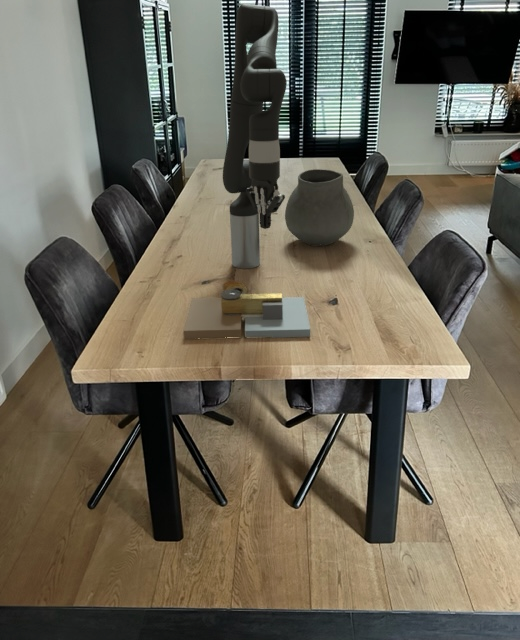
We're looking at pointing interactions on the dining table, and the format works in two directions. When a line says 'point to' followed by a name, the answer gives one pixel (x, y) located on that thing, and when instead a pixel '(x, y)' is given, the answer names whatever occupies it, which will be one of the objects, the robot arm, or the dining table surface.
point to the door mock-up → (247, 320)
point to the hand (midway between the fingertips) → (265, 227)
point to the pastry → (235, 286)
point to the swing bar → (246, 301)
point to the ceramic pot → (319, 208)
